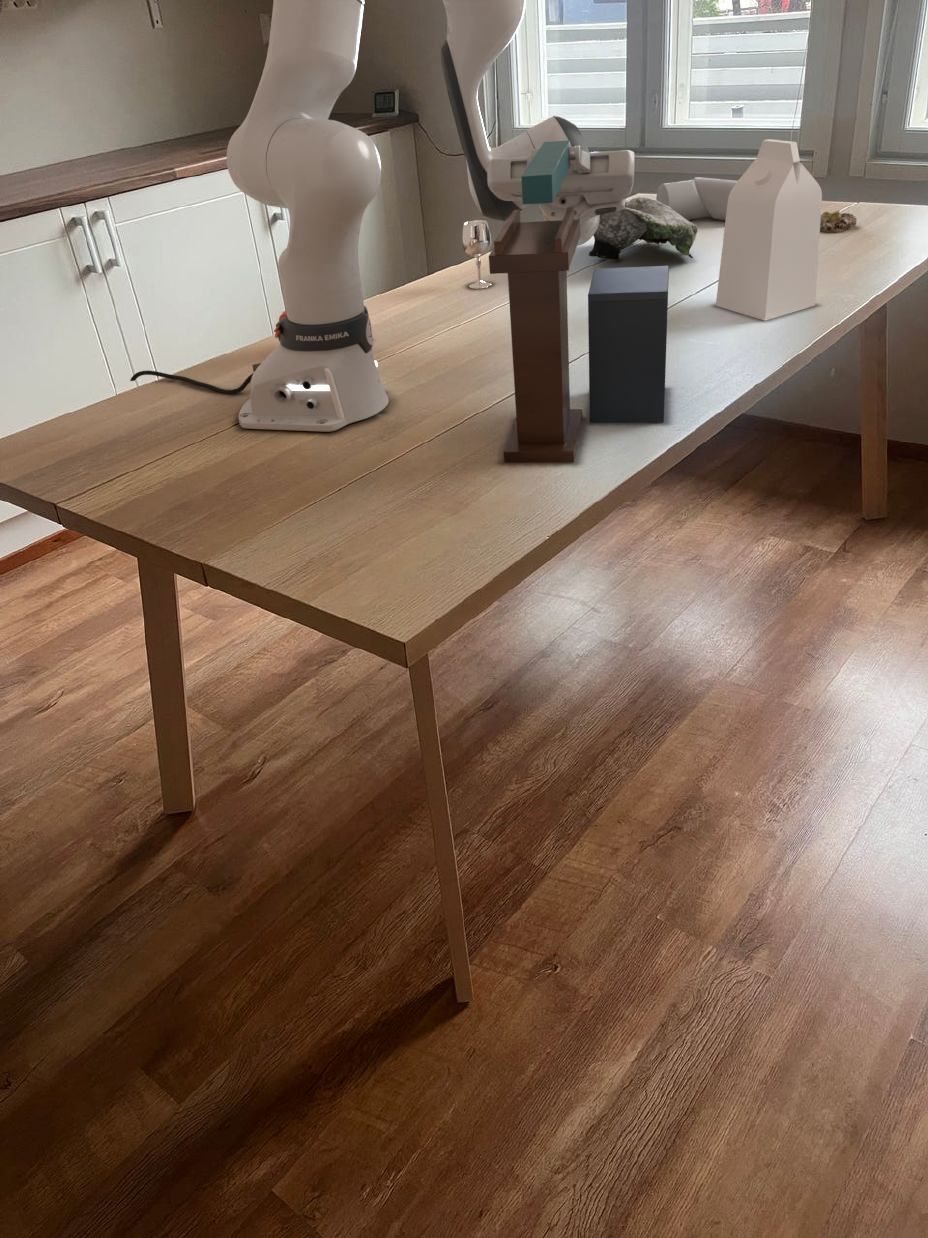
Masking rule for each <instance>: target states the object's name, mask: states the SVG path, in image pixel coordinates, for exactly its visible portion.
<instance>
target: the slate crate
mask: <svg viewBox="0 0 928 1238" xmlns="http://www.w3.org/2000/svg"><path fill="white" fill-rule="evenodd" d="M669 273H670V266H669V265H656V266H652V265H651V266H631V267H630V266H629V267H628V266H627V267H604V268H594V270H593V274H592V277H591V278H592V279H591V282H590V286H589V289H588V293H587V313H588V314H587V321H588V322H587V327H588V330H587V331H588V382H589V383H588V396H589V399H588V401H589V406H588V407H589V424H617V423H618V424H619V423H620V424H621V423H624V424H625V423H628V424H629V423H631V424H632V423H633V424H634V423H635V424H636V423H664V422H665V399H666V398H665V397H666V371H667V369H666V367H667V342H668V341H667V338H668V310H669V309H668V308H669V276H670V274H669Z"/></svg>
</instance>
